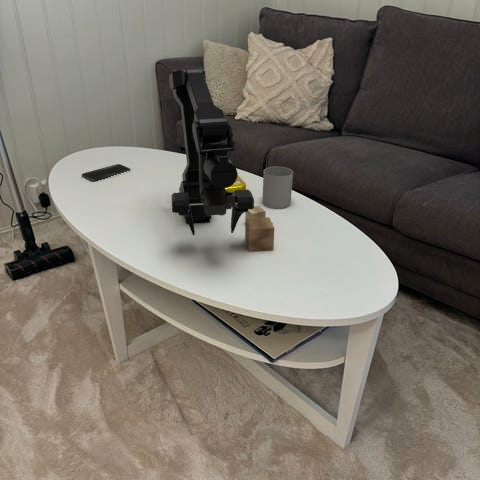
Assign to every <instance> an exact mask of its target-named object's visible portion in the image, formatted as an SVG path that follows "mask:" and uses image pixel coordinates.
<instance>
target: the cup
mask: <svg viewBox="0 0 480 480" xmlns="http://www.w3.org/2000/svg"><path fill="white" fill-rule="evenodd" d="M293 175H294V171H293V170H292V169H291V168H289V167H284V166H269V167H266V168H265V169H263V179H262V202H261V203H262V205H263V206H264V207H265V208H267V209H271V210H285V209H287V208H289V207H291V204H292V190H293V179H294V178H293V177H294V176H293Z"/></svg>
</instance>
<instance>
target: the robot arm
mask: <svg viewBox="0 0 480 480" xmlns="http://www.w3.org/2000/svg"><path fill="white" fill-rule="evenodd" d="M168 83H169V84H168V85H169V89H170V90H172V96H173V99H174V100H175V101H176V102H177V104H178V105H179V107H180V111H181V112H180V113H181V121H182V131H183V137H184V148H185V149H184V150H185V155H186V166H185V168H184V170H183V173H182V180H181V181H180V185H179V189H178V191H179V192H173V193H172V194H171V210H172V213H174V214H178V216H181V217H183V218H185V224H186V225H188V226H189V229H190V231H191V234H192V236H195V235H196V234H195V233H196V231H195V225H196V224H197V225H198V224H209V223H211V219H212V216H225V215H226V214H227V210H231V218H230V232H231V234H234V232H235V229H236V226H237V224H238V221H239V220H240V218H241V216H242V215H243V214H244V213H245V212H248V209H253V208H254V206H255V200H254V199H255V198H254V195H253V194H252V191H251V190H249V189H246V190H234V192H228V191H226V189H225V188H228V187H230V186H232V185H233V184H234V183H235V181H236V179H237V176H239V173H238V170H237V169H238V168H237V167H236V166H235V164H233V162H232V161H231V159H229V155H228V153H229V152H235V144H236V139H235V136H234V131H233V127H232V125H231V123H230V120H229V119H228V118H227V116H226V115H225V112H224V111H223V109H221V108H220V107H218V106H216V105H215V103H214V100H213V98H212V95H211V92H210V89H209V85H208V83H207V76H206V70H205V68H204V67H201V66H185V67H183V68H181V69H173V71H172V72H171V73H170V74H169V77H168ZM194 224H195V225H194Z"/></svg>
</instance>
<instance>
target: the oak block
mask: <svg viewBox="0 0 480 480" xmlns="http://www.w3.org/2000/svg"><path fill="white" fill-rule="evenodd" d="M266 212H267V211H266V210H265V209H264V208H263V207H261V205H254V208H253V209H248V212H244V213H245V215H244V217H245V218H244V220H245V219H246V218H265V217H267V216H266V214H267V213H266Z"/></svg>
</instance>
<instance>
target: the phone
mask: <svg viewBox="0 0 480 480" xmlns="http://www.w3.org/2000/svg"><path fill="white" fill-rule="evenodd" d="M127 171H130V172H131V168H130V167H128V166H125V165H123V164H119V163H116V164H113V165H108V166H105V167H101V168H97V169H95V170H94V169H93V170H91V171H86V172H84V173H81V177H82V178H83V179H85V180H86V181H89V182H90V183H91V182H92V183H94V182H99V180H100V181H103V180H106V179H105V178H107V179H109V178H108V177H110V178H112V177H111V176H114V175H117V174H120V175H122V174H121V173H124V172H127ZM127 173H128V172H127ZM124 174H125V173H124ZM117 176H118V175H117ZM114 177H115V176H114ZM102 179H103V180H102Z"/></svg>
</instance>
